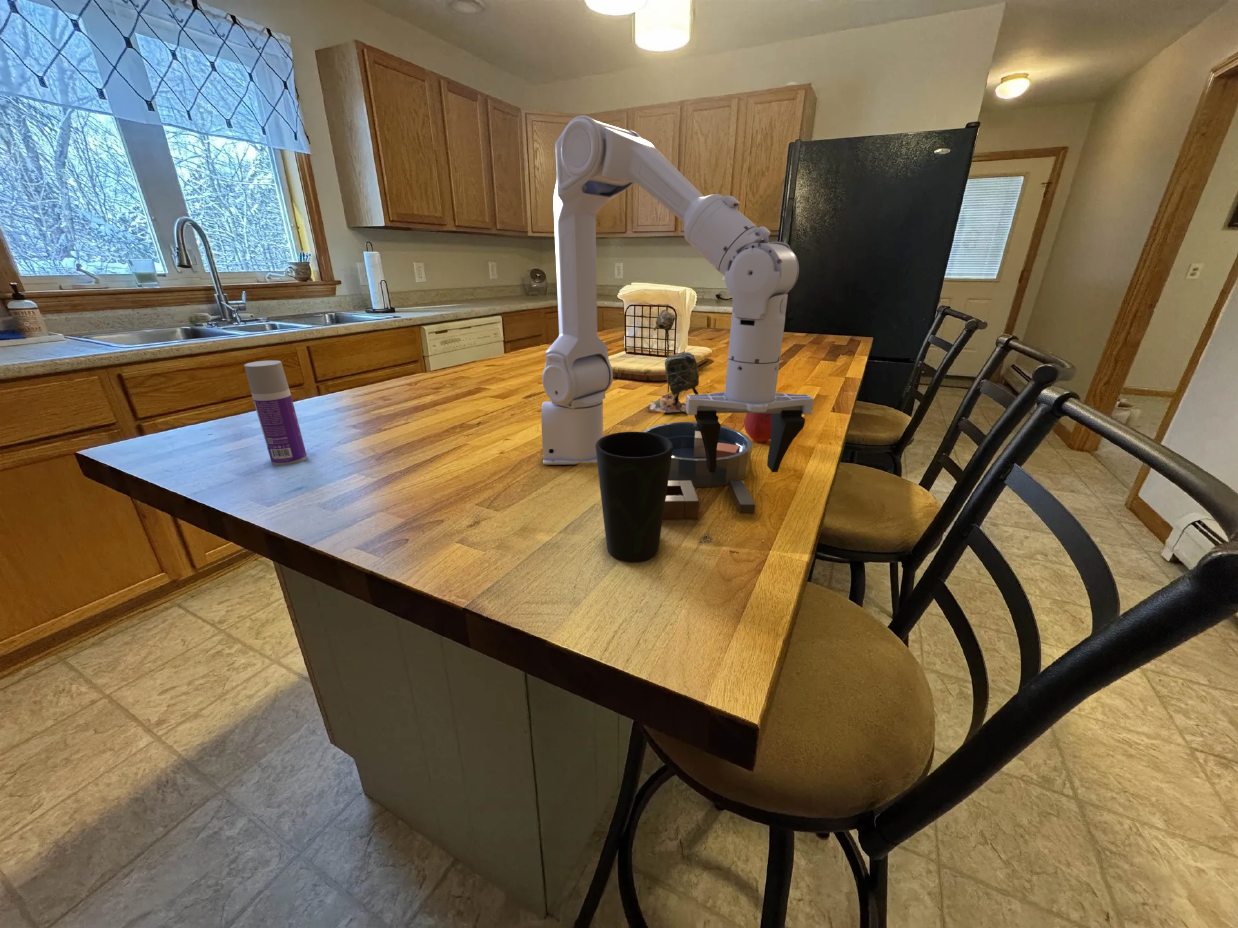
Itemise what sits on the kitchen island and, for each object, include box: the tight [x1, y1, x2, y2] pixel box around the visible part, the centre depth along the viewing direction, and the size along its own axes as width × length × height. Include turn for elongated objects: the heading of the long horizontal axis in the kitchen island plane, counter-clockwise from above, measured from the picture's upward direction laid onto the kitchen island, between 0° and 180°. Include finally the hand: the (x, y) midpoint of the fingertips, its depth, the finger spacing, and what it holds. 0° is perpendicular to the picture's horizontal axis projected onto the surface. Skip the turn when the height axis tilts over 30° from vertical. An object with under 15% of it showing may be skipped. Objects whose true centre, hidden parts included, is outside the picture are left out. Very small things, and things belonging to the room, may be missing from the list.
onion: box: [743, 413, 771, 444], centre depth 82 cm, size 6×6×8 cm
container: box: [244, 359, 308, 467], centre depth 73 cm, size 5×5×15 cm
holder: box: [663, 480, 700, 521], centre depth 60 cm, size 6×6×3 cm
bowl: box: [642, 421, 753, 488], centre depth 73 cm, size 16×16×4 cm
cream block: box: [694, 431, 706, 458], centre depth 77 cm, size 3×3×3 cm
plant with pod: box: [646, 309, 700, 414], centre depth 97 cm, size 8×11×20 cm
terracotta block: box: [716, 443, 740, 458], centre depth 71 cm, size 3×3×3 cm
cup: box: [595, 431, 673, 563], centre depth 51 cm, size 8×8×12 cm
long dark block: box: [728, 479, 756, 515], centre depth 62 cm, size 2×2×7 cm
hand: (741, 469), depth 61 cm, fingers open, 7 cm apart
